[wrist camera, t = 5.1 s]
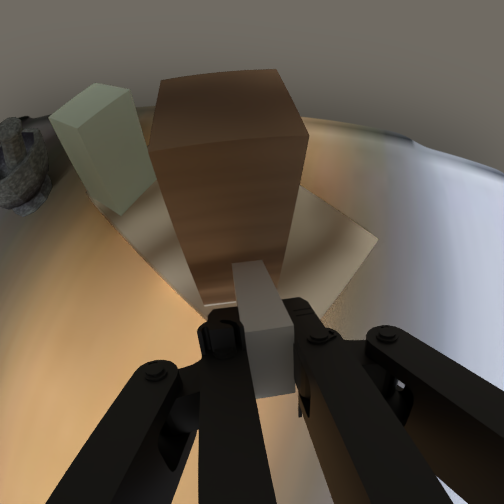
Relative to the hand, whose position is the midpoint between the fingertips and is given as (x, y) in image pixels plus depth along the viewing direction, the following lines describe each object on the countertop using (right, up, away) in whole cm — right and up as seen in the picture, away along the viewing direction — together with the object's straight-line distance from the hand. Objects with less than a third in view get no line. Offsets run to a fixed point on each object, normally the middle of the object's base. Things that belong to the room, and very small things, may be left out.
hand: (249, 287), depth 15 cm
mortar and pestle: (-26, +8, +13) cm, 30 cm away
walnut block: (-1, 0, +7) cm, 7 cm away
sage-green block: (-12, +8, +11) cm, 18 cm away
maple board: (-3, +5, +11) cm, 12 cm away
